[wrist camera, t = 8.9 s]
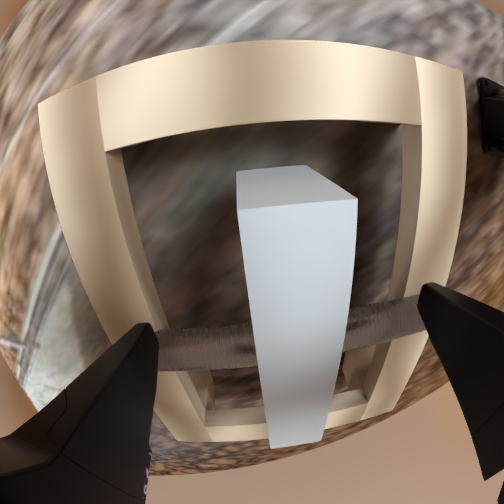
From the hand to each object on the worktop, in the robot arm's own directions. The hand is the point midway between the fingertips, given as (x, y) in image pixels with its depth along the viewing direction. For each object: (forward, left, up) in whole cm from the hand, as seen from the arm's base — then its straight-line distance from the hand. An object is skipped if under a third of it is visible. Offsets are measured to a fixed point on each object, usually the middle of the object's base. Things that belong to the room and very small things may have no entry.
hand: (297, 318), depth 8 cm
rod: (0, +4, -3) cm, 5 cm away
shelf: (0, +3, -9) cm, 10 cm away
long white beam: (0, +3, -6) cm, 6 cm away
